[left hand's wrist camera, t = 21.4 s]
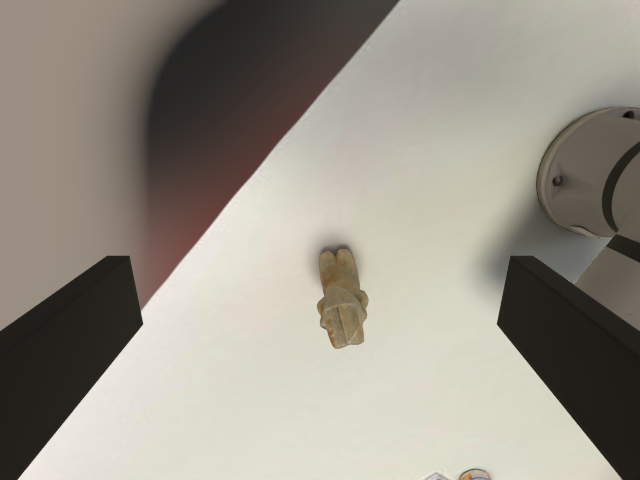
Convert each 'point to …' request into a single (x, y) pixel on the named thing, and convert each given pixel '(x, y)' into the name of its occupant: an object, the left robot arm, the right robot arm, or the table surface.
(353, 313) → the sculpture
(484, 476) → the pill bottle
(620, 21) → the table surface
